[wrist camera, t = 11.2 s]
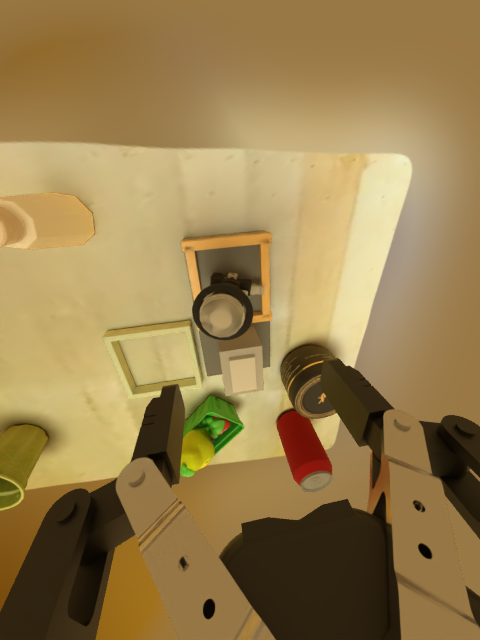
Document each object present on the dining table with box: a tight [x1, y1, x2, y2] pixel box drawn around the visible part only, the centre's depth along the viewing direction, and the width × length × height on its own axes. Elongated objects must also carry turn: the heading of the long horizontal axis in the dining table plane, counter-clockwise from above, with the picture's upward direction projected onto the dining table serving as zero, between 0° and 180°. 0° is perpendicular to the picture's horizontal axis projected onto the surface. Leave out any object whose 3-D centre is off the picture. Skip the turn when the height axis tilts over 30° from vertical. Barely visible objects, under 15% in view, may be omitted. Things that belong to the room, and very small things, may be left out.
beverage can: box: [277, 411, 333, 492], centre depth 40 cm, size 7×7×12 cm
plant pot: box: [0, 424, 48, 510], centre depth 33 cm, size 9×9×9 cm
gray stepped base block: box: [181, 231, 272, 396], centre depth 28 cm, size 10×20×9 cm, turn 4°
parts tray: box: [102, 320, 203, 399], centre depth 33 cm, size 12×12×2 cm
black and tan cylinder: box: [192, 273, 265, 340], centre depth 22 cm, size 7×5×10 cm
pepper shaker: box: [0, 192, 95, 249], centre depth 19 cm, size 5×5×11 cm
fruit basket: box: [180, 395, 244, 477], centre depth 36 cm, size 11×9×11 cm
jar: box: [281, 345, 337, 419], centre depth 36 cm, size 10×10×8 cm
